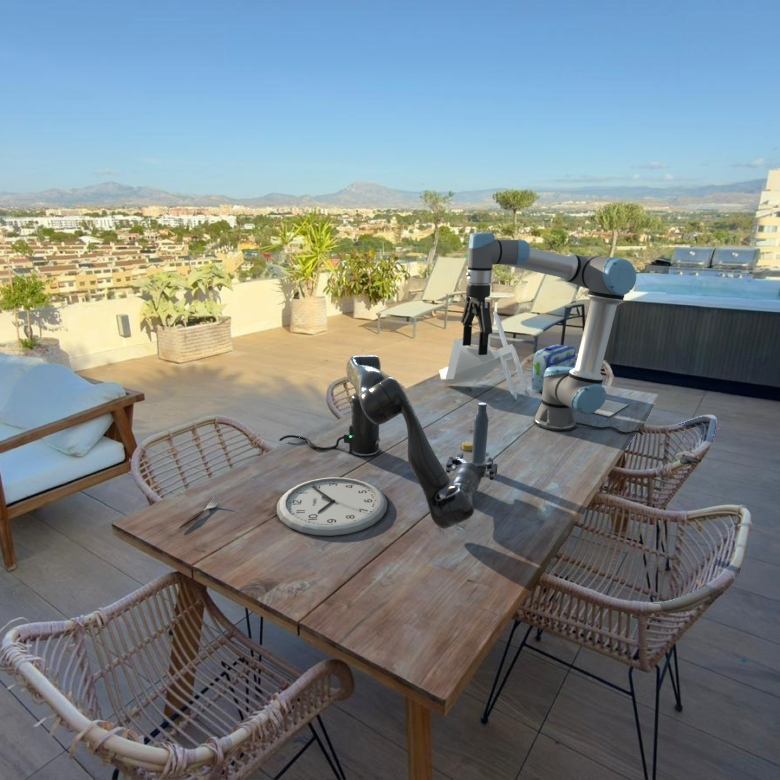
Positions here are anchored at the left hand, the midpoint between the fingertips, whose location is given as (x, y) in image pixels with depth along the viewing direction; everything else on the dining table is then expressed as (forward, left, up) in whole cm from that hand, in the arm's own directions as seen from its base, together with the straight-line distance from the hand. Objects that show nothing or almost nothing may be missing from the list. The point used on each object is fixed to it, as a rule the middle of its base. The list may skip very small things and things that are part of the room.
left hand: (475, 458), depth 158 cm
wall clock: (-33, -30, -7) cm, 46 cm away
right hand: (-6, +22, +28) cm, 36 cm away
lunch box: (+17, +106, -7) cm, 108 cm away
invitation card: (+39, +87, -7) cm, 96 cm away
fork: (-63, -47, -7) cm, 79 cm away
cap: (-6, +22, -5) cm, 23 cm away
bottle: (0, +6, -7) cm, 9 cm away
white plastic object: (-14, +88, -7) cm, 89 cm away
